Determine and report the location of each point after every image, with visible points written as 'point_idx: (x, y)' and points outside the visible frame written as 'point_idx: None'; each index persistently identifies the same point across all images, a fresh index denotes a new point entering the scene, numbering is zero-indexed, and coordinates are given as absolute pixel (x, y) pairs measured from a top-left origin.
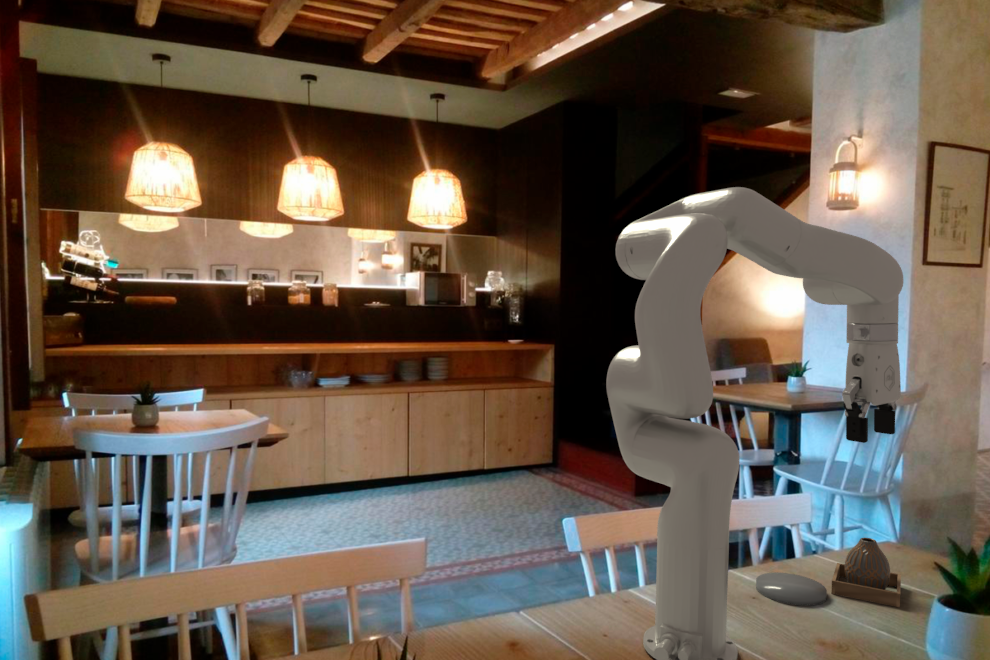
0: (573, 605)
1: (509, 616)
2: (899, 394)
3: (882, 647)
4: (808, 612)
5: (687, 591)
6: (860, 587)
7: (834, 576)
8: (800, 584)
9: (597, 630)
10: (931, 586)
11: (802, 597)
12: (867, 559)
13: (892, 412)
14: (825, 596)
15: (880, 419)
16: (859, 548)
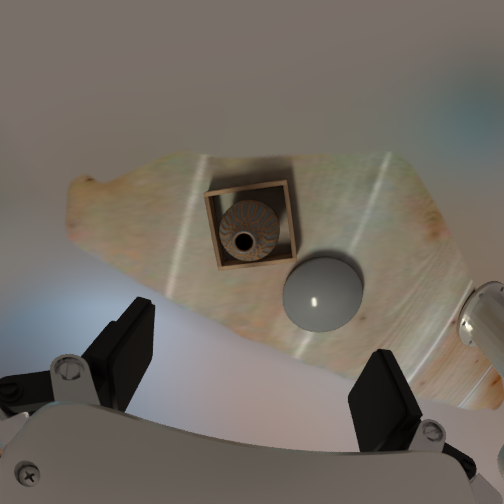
0: (441, 398)
1: (465, 405)
2: (67, 426)
3: (414, 182)
4: (371, 263)
5: None
6: (292, 227)
7: (277, 262)
8: (314, 290)
9: (472, 367)
10: (176, 161)
11: (356, 277)
12: (272, 231)
13: (109, 361)
14: (326, 258)
15: (134, 375)
16: (260, 248)
